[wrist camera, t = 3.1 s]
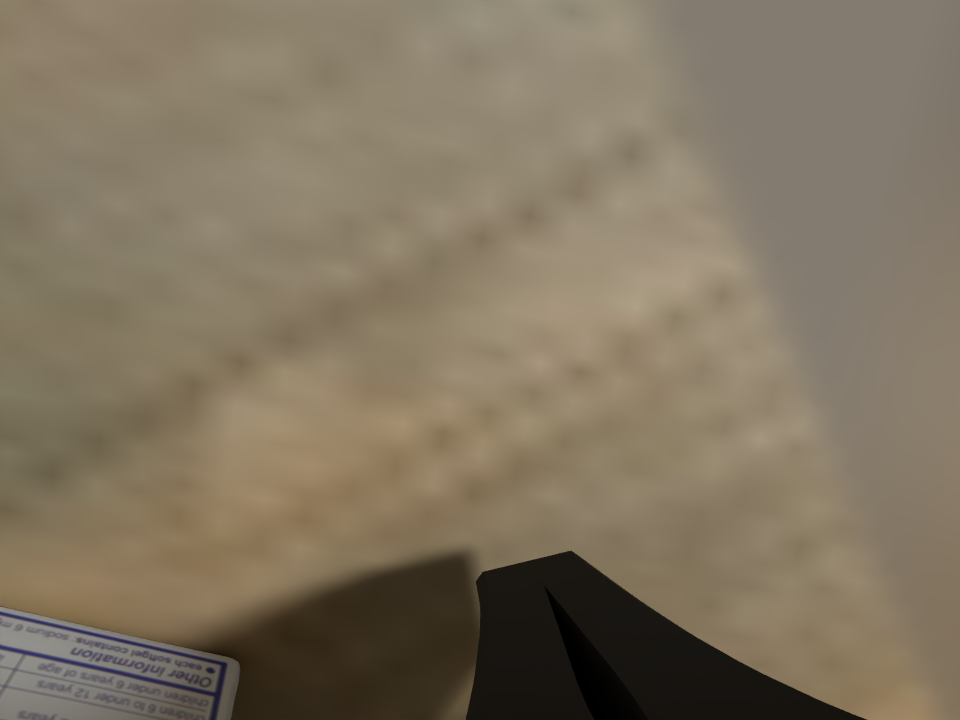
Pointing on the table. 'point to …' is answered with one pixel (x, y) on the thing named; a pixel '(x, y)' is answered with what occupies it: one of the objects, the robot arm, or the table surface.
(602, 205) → the table surface
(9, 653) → the medicine box
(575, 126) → the table surface
